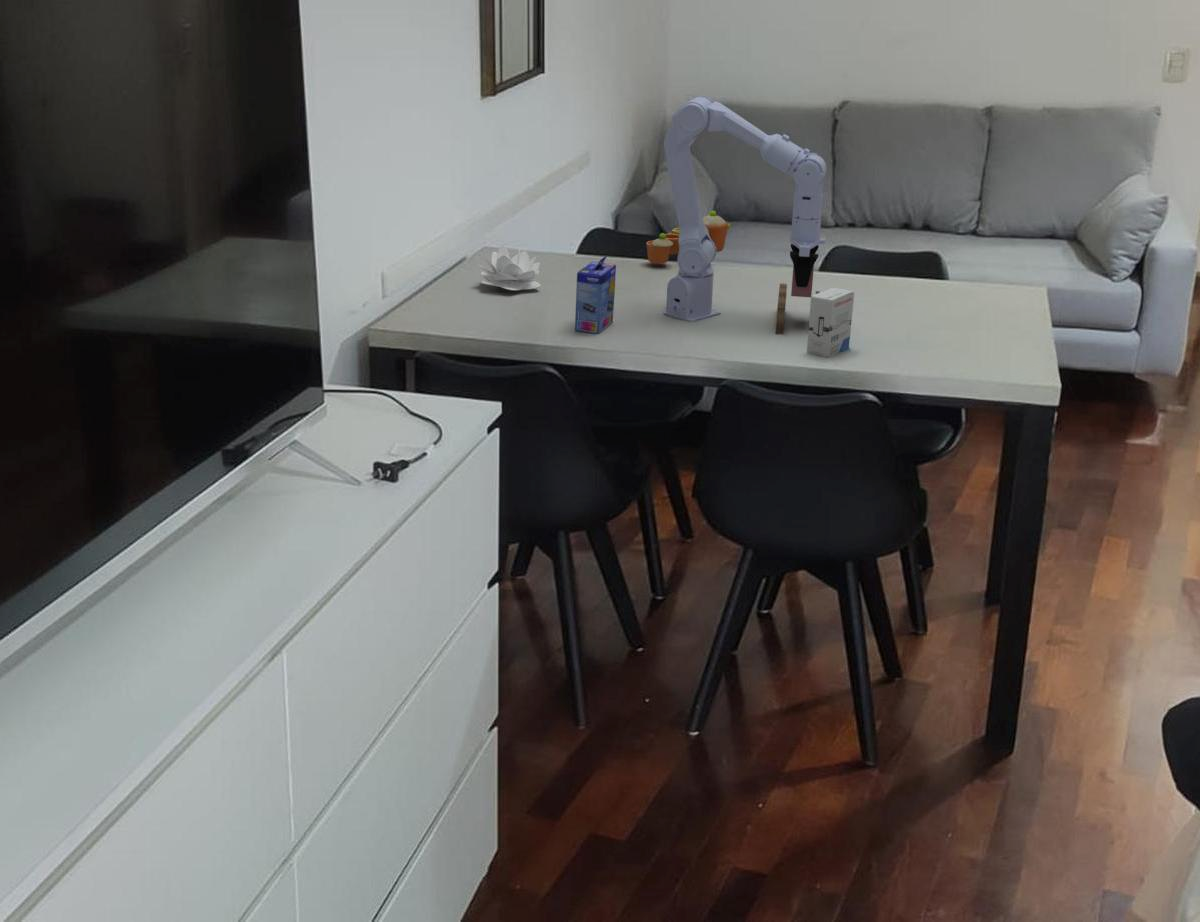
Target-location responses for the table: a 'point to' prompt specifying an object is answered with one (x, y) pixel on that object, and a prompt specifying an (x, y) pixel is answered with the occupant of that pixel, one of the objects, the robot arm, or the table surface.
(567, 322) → the table surface
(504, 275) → the lotus flower
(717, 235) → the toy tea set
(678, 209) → the robot arm
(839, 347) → the ink box
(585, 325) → the ink cartridge box
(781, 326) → the shelf wall
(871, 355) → the table surface
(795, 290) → the mauve rectangular block
